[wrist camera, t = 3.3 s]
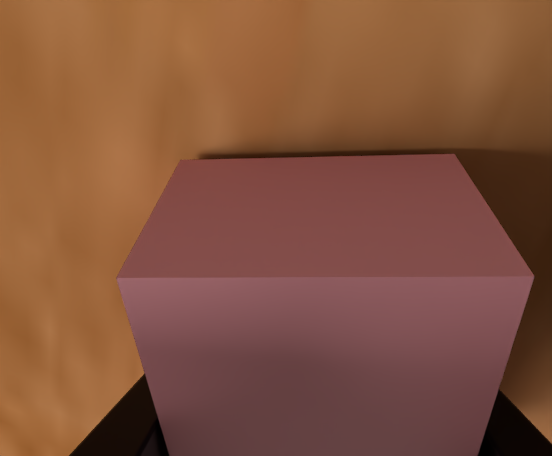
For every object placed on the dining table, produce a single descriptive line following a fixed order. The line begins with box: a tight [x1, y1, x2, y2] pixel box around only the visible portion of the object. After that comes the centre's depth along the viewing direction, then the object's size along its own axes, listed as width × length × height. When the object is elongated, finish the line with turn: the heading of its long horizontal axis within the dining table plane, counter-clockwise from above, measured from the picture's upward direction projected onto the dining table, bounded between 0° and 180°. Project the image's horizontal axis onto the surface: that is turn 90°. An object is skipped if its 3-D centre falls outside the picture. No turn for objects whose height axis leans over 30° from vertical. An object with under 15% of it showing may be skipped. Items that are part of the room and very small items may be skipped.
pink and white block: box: [116, 154, 535, 456], centre depth 9 cm, size 5×8×4 cm, turn 3°
